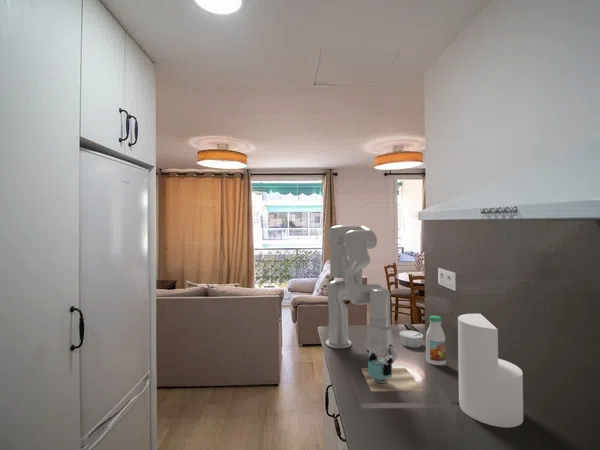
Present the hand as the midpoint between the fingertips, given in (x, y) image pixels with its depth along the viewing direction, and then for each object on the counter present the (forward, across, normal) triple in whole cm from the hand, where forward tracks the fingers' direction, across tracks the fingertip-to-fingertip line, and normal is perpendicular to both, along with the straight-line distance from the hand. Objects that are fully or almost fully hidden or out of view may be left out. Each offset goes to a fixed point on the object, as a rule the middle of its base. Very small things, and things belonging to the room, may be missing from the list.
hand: (380, 370), depth 116 cm
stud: (+4, 0, 0) cm, 4 cm away
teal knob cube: (+2, 0, 0) cm, 2 cm away
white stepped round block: (+5, +30, +18) cm, 35 cm away
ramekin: (+5, -22, +42) cm, 48 cm away
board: (+5, 0, +4) cm, 7 cm away
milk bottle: (+5, -1, +33) cm, 33 cm away
